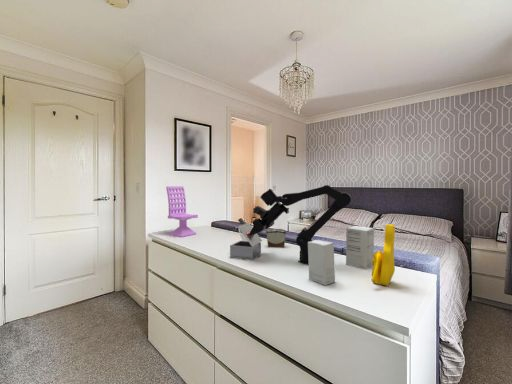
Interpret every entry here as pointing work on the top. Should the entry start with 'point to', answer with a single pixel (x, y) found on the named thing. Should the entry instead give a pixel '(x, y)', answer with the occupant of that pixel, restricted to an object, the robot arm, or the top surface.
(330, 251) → the skincare box
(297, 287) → the top surface
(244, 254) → the grey open box
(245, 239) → the mug
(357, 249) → the supplement box
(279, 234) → the food container
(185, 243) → the top surface
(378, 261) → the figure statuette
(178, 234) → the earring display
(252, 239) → the tabbed silver plate
